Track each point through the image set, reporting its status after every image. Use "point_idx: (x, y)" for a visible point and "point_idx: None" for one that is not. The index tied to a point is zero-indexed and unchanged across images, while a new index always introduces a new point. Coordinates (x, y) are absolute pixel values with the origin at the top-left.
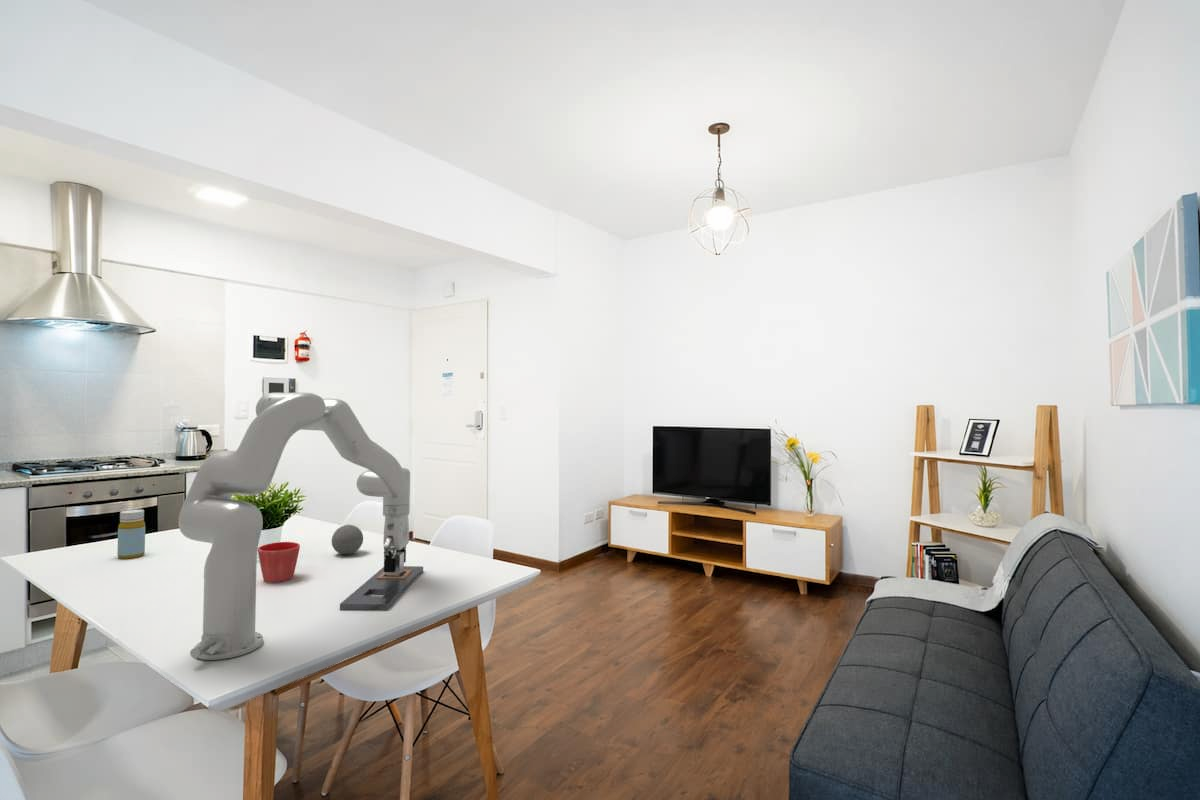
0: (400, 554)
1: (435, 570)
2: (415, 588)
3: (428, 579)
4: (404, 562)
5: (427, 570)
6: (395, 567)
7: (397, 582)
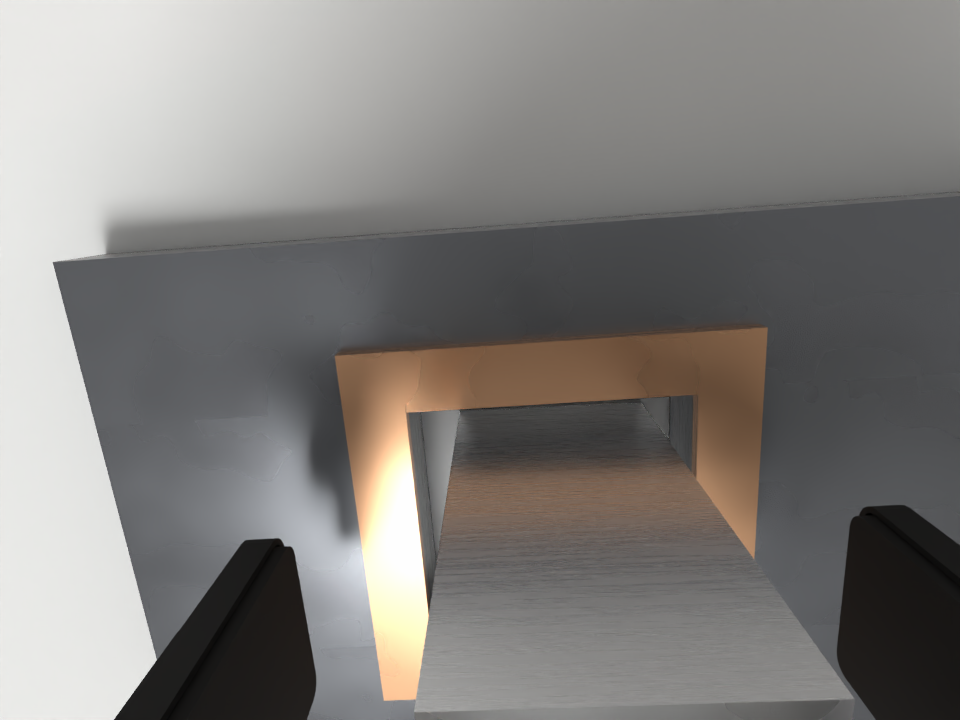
0: (767, 707)
1: (6, 73)
2: (929, 72)
3: (480, 22)
4: (279, 543)
5: (45, 205)
6: (923, 542)
7: (932, 362)
